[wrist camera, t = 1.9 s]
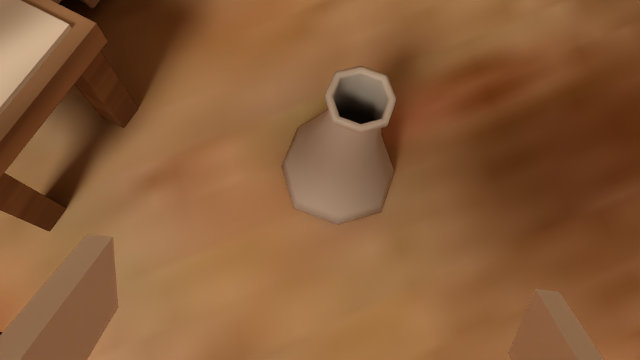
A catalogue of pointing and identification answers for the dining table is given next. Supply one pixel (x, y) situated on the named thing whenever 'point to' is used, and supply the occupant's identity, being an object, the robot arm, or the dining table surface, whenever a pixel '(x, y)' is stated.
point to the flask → (344, 150)
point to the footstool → (47, 88)
